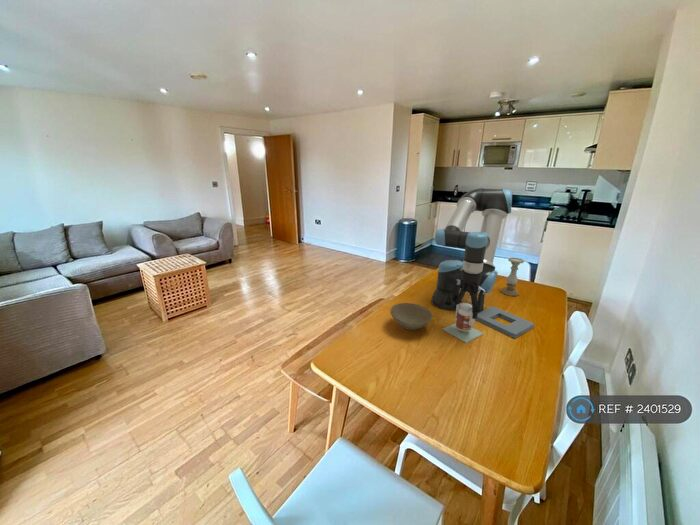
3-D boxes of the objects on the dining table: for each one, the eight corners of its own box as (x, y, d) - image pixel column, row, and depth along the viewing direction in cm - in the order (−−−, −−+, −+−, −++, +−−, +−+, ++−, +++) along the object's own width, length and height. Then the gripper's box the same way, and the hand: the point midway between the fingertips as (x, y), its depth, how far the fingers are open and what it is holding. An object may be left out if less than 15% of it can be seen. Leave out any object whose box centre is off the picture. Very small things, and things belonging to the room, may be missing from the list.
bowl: (438, 327, 126) (440, 311, 123) (417, 344, 113) (419, 327, 110) (403, 313, 138) (404, 298, 135) (381, 328, 125) (381, 312, 122)
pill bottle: (462, 333, 117) (466, 309, 114) (452, 326, 123) (455, 303, 119) (474, 330, 120) (477, 307, 116) (463, 323, 125) (466, 301, 121)
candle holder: (502, 288, 165) (508, 256, 159) (519, 292, 160) (526, 259, 154) (499, 293, 159) (506, 260, 152) (517, 297, 154) (524, 263, 147)
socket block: (472, 318, 133) (472, 314, 132) (491, 309, 141) (492, 305, 140) (514, 338, 117) (515, 334, 116) (533, 327, 125) (534, 323, 124)
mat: (442, 329, 124) (442, 328, 123) (459, 321, 130) (459, 321, 130) (465, 343, 114) (466, 342, 114) (483, 334, 120) (483, 333, 120)
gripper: (446, 265, 118) (440, 313, 126) (488, 280, 103) (479, 334, 110) (457, 262, 122) (451, 309, 130) (500, 276, 107) (490, 328, 114)
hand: (464, 320), depth 120 cm, fingers closed on pill bottle, 6 cm apart
